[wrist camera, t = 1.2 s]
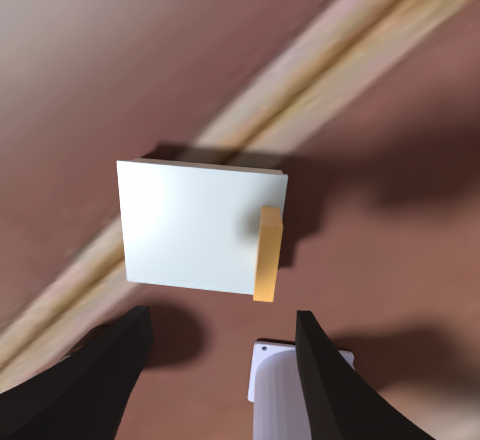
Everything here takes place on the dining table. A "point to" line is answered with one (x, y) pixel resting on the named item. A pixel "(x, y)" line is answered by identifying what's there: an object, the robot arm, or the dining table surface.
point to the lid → (202, 226)
